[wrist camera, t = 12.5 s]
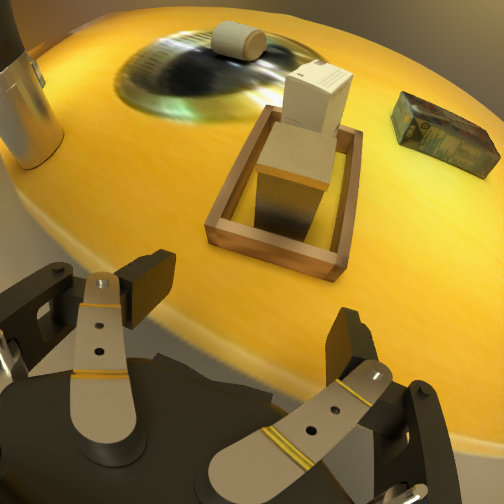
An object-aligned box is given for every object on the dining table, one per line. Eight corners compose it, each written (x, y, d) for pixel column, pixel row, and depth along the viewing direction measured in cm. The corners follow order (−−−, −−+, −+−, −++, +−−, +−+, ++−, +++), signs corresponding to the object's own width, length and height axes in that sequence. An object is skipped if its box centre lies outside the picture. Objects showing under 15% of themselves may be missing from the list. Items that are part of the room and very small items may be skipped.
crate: (208, 243, 25) (204, 224, 22) (264, 125, 33) (266, 104, 30) (333, 282, 24) (346, 268, 21) (354, 151, 31) (362, 132, 28)
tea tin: (252, 237, 26) (256, 163, 17) (266, 199, 28) (275, 121, 19) (300, 252, 25) (329, 183, 16) (310, 212, 27) (337, 138, 18)
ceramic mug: (245, 68, 40) (246, 31, 33) (210, 58, 42) (209, 25, 35) (276, 53, 44) (279, 21, 37) (243, 44, 46) (244, 14, 39)
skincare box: (306, 189, 28) (334, 95, 17) (271, 169, 29) (283, 74, 18) (330, 158, 31) (358, 74, 20) (298, 141, 32) (315, 56, 21)
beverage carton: (388, 115, 36) (401, 84, 30) (471, 150, 36) (487, 128, 30) (396, 145, 33) (414, 112, 27) (484, 182, 32) (504, 159, 26)
